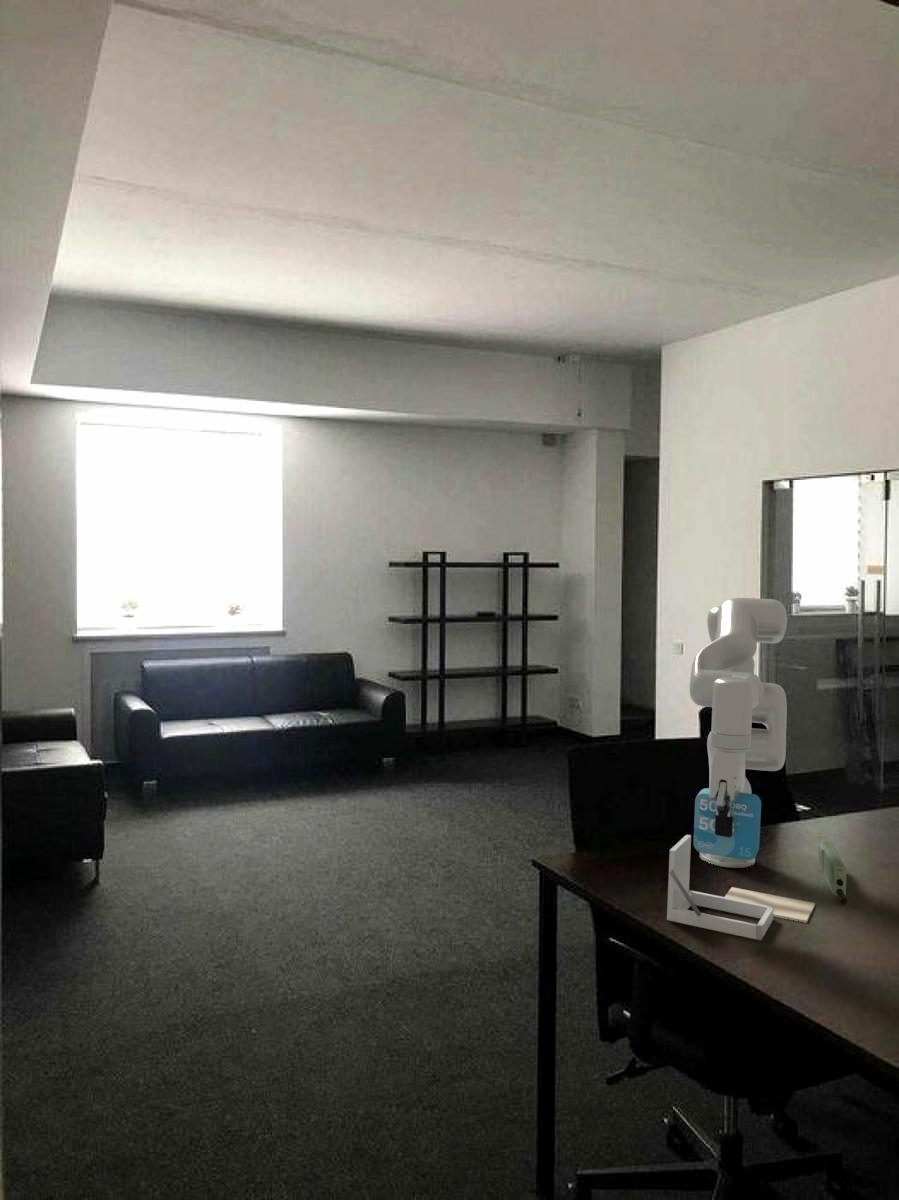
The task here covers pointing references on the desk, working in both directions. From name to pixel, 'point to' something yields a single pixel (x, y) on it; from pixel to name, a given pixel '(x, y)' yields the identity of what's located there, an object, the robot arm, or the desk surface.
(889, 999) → the desk surface
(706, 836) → the data package
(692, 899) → the stand
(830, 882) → the handheld radio
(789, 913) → the birch board
